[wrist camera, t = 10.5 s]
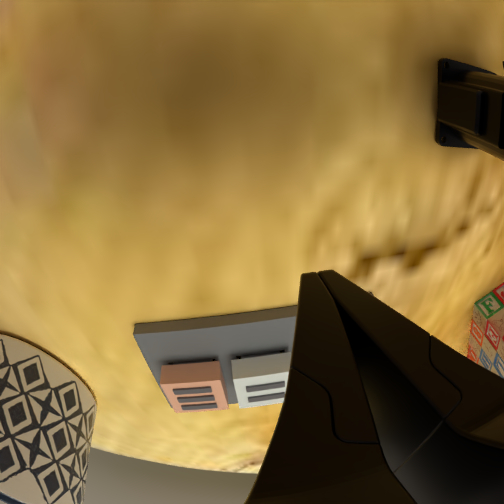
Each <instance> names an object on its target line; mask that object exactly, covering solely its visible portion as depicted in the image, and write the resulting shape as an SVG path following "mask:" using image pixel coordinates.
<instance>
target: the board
mask: <svg viewBox="0 0 504 504" xmlns="http://www.w3.org/2000/svg"><path fill="white" fill-rule="evenodd" d="M369 294H371V295H373V294H372V293H369ZM373 296H374V295H373ZM297 306H298V305H297ZM297 306H290V307H283V308H276V309H269V310H262V311H254V312H247V313H239V314H231V315H223V316H214V317H205V318H196V319H186V320H176V321H165V322H154V323H142V324H135V328H134V332H133V336H134V338H135V340H136V342H137V344H138V346H139V348H140V350H141V352H142V354H143V356H144V358H145V360H146V362H147V364H148V366H149V368H150V370H151V372H152V374H153V375H154V377H155V379H156V381H157V383H158V385H159V387H160V388H161V386H160V377H161V367H162V365H173V362H186V361H198V360H208V359H215V361H219V362H220V366H221V370H222V373H223V377H224V381H225V385H226V388H227V393H228V404H235V403H238V399H237V395H236V391H235V386H234V382H233V375H232V364H231V360H236V359H237V356H244V355H252V354H259V353H266V352H273V351H280V350H282V353H287V352H291V354H292V346H293V339H294V331H295V323H296V314H297ZM161 390H162V392H163V394H164V396H165V397H166V395H165V393H164V391H163V389H162V388H161ZM166 399H167V401H168V403H169V404H170V402H169V400H168V398H167V397H166ZM170 406H171V408H173V407H172V405H171V404H170Z"/></svg>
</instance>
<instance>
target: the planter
mask: <svg viewBox="0 0 504 504" xmlns="http://www.w3.org/2000/svg"><path fill="white" fill-rule="evenodd" d="M96 411H97V406H96V402H95V399H94V397H93V396H92V394H91V392H90V391H89V390H88V388H87V387H86V386H85V385H84V383H83V382H82V381H81V380H80V379H79V378H78V377H77V376H76V375H75V374H73V373H72V372H71V371H70V370H69V369H68V368H66V367H65V366H64V365H62V364H61V363H60V362H58V361H57V360H56V359H54V358H53V357H51V356H50V355H48V354H46V353H45V352H43V351H41V350H40V349H38V348H36V347H34V346H32V345H30V344H28V343H26V342H23V341H21V340H19V339H16V338H13V337H10V336H7V335H2V334H0V500H1V501H3V502H5V503H7V504H83V502H84V492H85V483H86V475H87V467H88V459H89V453H90V446H91V440H92V434H93V428H94V423H95V417H96Z"/></svg>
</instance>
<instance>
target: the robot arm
mask: <svg viewBox="0 0 504 504" xmlns="http://www.w3.org/2000/svg"><path fill="white" fill-rule="evenodd" d="M444 63H445V64H446V67H445V66H444ZM503 67H504V61H503ZM442 137H443V140H442V141H441V139H442ZM436 142H437V143H438V144H439V145H441V146H447V147H462V148H474V149H481V150H483V151H485V152H487V153H489V154H491V155H493V156H495V157H497V158H499V159H501V160H503V161H504V77H503V76H498V75H496V74H495V73H493V72H490V71H487V70H484V69H481V68H478V67H475V66H472V65H468V64H465V63H461V62H458V61H454V60H450V59H447V58H441V59H439V61H438V108H437V126H436ZM244 504H504V378H502V377H500V376H498V375H497V374H495V373H493V372H491V371H490V370H488V369H486V368H484V367H482V366H481V365H479V364H477V363H475V362H474V361H472V360H470V359H469V358H467V357H465V356H463V355H462V354H460V353H458V352H457V351H455V350H454V349H452V348H451V347H449V346H448V345H446V344H445V343H443V342H442V341H440V340H439V339H437V338H436V337H434V336H433V335H431V336H430V334H429V333H428V332H427V331H425V330H424V329H422V328H421V327H419V326H418V325H416V324H415V323H413V322H412V321H410V320H409V319H407V318H406V317H404V316H403V315H401V314H400V313H398V312H397V311H395V310H394V309H392V308H391V307H389V306H388V305H386V304H385V303H383V302H382V301H380V300H379V299H377V298H376V297H374V296H373V295H371V294H369V293H368V292H366V291H365V290H363V289H362V288H360V287H359V286H357V285H356V284H354V283H353V282H351V281H349V280H348V279H346V278H345V277H343V276H342V275H340V274H339V273H337V272H335V271H334V270H324V271H319V272H318V273H316V272H310V273H303V274H302V275H301V279H300V288H299V297H298V306H297V314H296V323H295V331H294V339H293V346H292V354H291V361H290V369H289V374H288V381H287V387H286V392H285V397H284V401H283V405H282V409H281V412H280V415H279V418H278V422H277V425H276V428H275V430H274V433H273V436H272V439H271V441H270V444H269V447H268V449H267V452H266V455H265V457H264V460H263V463H262V465H261V468H260V470H259V473H258V475H257V478H256V480H255V482H254V485H253V487H252V489H251V491H250V493H249V495H248V497H247V499H246V501H245V502H244Z"/></svg>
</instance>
